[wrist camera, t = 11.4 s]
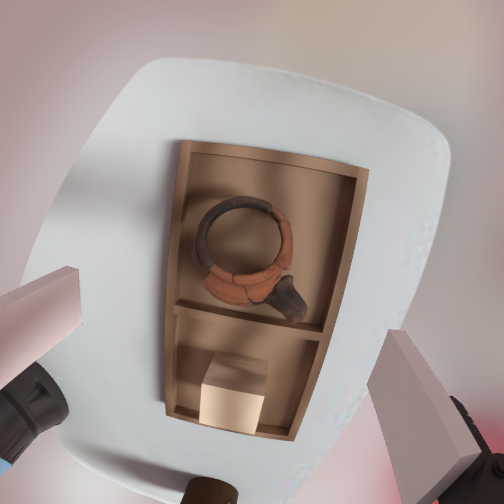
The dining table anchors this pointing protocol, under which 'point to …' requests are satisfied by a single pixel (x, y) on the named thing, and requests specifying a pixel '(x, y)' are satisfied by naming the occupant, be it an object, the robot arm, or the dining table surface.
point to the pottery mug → (256, 284)
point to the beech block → (233, 392)
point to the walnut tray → (254, 260)
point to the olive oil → (209, 492)
